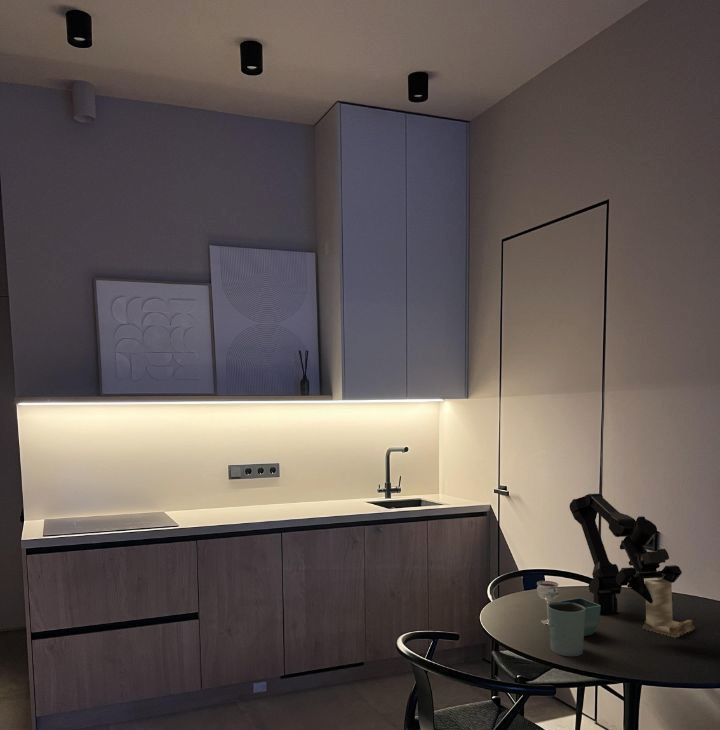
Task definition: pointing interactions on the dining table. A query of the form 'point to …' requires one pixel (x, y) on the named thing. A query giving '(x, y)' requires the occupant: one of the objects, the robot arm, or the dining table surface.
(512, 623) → the dining table surface
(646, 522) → the robot arm
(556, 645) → the green cup
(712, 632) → the dining table surface
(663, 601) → the wooden block
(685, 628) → the wooden tray
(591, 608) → the flower pot
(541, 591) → the wineglass
